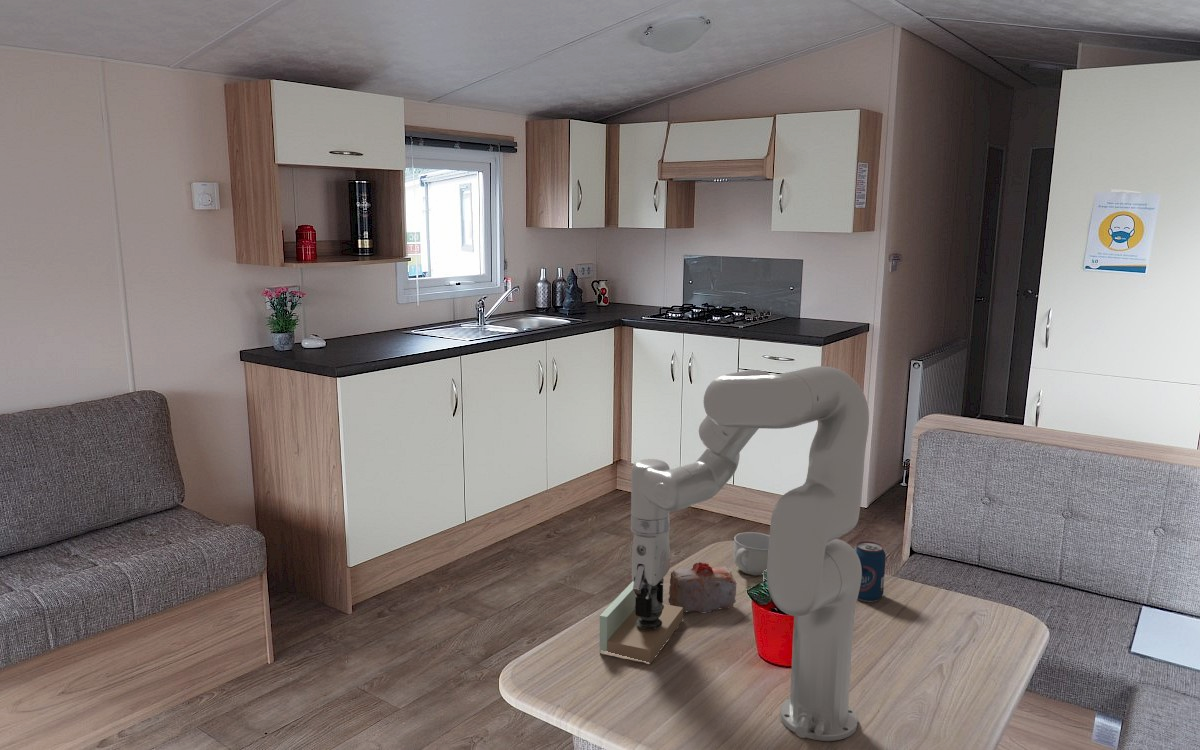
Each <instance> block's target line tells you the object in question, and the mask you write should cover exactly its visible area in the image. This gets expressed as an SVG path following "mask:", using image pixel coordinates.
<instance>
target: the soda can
mask: <svg viewBox="0 0 1200 750" xmlns="http://www.w3.org/2000/svg"><path fill="white" fill-rule="evenodd" d="M853 549H854V550H855V552H856V553H857V555H858V557H859V559H860V563H861V568H862V578H861V585H860V590H859V594H858V598H857V600H858V601H862V602H864V603H865V602H868V603H874V602H877V601H879V600H880V599H881V598H882V596H884V589H885V588H884V587H885V573H886V571H885V570H886V557H887V556H886V555H887V554H886V552H885V550H884V546H883V545H882V544H881V543H878V542H876V541H875V542H874V541H864V540H863V541H859V542H857V543H856V546H855V548H853Z"/></svg>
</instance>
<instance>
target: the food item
mask: <svg viewBox="0 0 1200 750" xmlns="http://www.w3.org/2000/svg"><path fill="white" fill-rule="evenodd" d="M669 584H670V585H669V591H668V595H669V598H668V604H669V603H670V604H669V605H673V606H678V607H683V613H691V612H690V611H694V612H699V611H700V612H699V613H701V612H707V611H708V612H707V613H710V612H709V611H711V612H712V611H713V610H715V611H717V610H720V609H719V608H722V609H729V608H730V606H731V607H732V606H734V604H735V603H736V602H737V601H736V595H737V594H736V593H737V581H736V580H735V577H734V575H733V574H732V572H730V571H729V569H728V568H727V567H726V566H725V565H721V566H711V565H709V563H706V562H700V561H699V562H696V563H694V564H693V566H692V568H682V569H674V570H672V571H671V572H670V579H669ZM686 611H688V612H686Z"/></svg>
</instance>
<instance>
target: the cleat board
mask: <svg viewBox="0 0 1200 750" xmlns="http://www.w3.org/2000/svg"><path fill="white" fill-rule="evenodd" d="M633 585H634V582H633V580H632V581H631V582H630V583H629V584H628V586H627V587H626V588H625V589H624V590H623V591H622V592H621V593H620V594H619V595H618V596H617V597H616V598H615V599H613V601H612V602H611V603H609V606H608V607H606V608H605V610H603V612H602V613H601V614H600V615H599V651H600V650H603V651H608V652H611V653H615V654H619V655H622V656H627V657H630V658H634V659H638V660H642V661H646V662H649V663H651V662H652V661H653V659H654V658H655V656H656V655H657V654H658V652H659V651H660V649H661V648H662V647H663V645H664V644H665V643H666V641H667V640H668V639H669V638H670V636H671V635H672V634H673V632H674V631H675V630H676V631H677V629H678V628H679V627H680V625H681V624H682V623H681V622H683V621H684V612H683V607H678V606H673V605H670V604H666V603H662V604H663V605H664V609H663V610H662V614H661V616H660V617H659V619H660V620H661V621H662V625H661V626H660V627H658V628H655V629H644V628H641V627H639V626H637V625H636V620H637V619H639V618H640V617H639V616H637V615H636V614H635V607H634V606H635V604H636V597H635V591H634V590H633ZM682 620H683V621H682ZM680 623H681V624H680ZM679 624H680V625H679ZM678 626H679V627H678ZM677 627H678V628H677ZM676 628H677V629H676ZM676 631H675V632H676ZM675 632H674V633H675ZM673 635H674V634H673ZM673 635H672V636H673ZM672 636H671V637H672ZM670 639H671V638H670ZM670 639H669V640H670ZM669 640H668V641H669ZM666 644H667V643H666ZM666 644H665V645H666ZM663 648H664V647H663ZM660 652H661V651H660ZM658 655H659V654H658ZM658 655H657V656H658ZM655 659H656V658H655ZM655 659H654V660H655ZM653 662H654V661H653ZM653 662H652V663H653Z"/></svg>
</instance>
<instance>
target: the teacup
mask: <svg viewBox="0 0 1200 750" xmlns="http://www.w3.org/2000/svg"><path fill="white" fill-rule="evenodd" d="M769 537H770V534H766V533H762V532H753V531H749V532H748V531H745V532H739V533H737V534H735V535H734V537H733V540H734V541H733V562H734V564H735V566H736V567H737V568H738V569H739V570H740V571H741V572H743V573H745V574H747V575H750V574H751V575H750V576H756V575H760V576H763V575H762V573H763V571H764V570H766V569H767V563H768V550H769Z"/></svg>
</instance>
